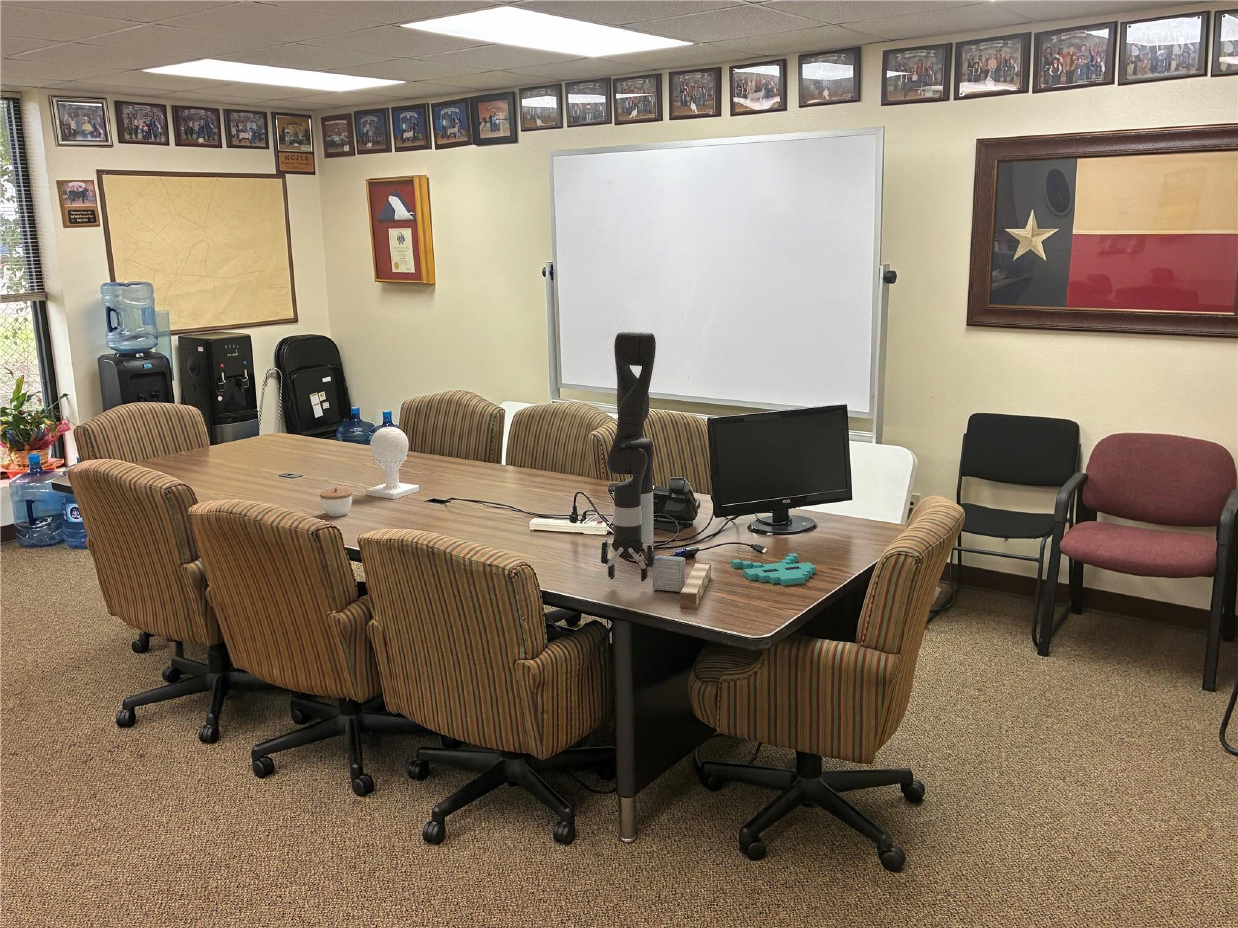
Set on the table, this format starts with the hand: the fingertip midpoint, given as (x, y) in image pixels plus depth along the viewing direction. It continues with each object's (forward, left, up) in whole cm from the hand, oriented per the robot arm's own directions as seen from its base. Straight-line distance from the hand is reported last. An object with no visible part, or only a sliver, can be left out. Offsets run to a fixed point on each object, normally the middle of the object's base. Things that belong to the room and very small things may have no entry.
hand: (627, 579), depth 282 cm
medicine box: (0, +11, -2) cm, 11 cm away
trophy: (-86, -109, -3) cm, 139 cm away
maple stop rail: (-1, +19, -2) cm, 19 cm away
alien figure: (-21, +39, -3) cm, 44 cm away
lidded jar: (-54, -115, -3) cm, 127 cm away
